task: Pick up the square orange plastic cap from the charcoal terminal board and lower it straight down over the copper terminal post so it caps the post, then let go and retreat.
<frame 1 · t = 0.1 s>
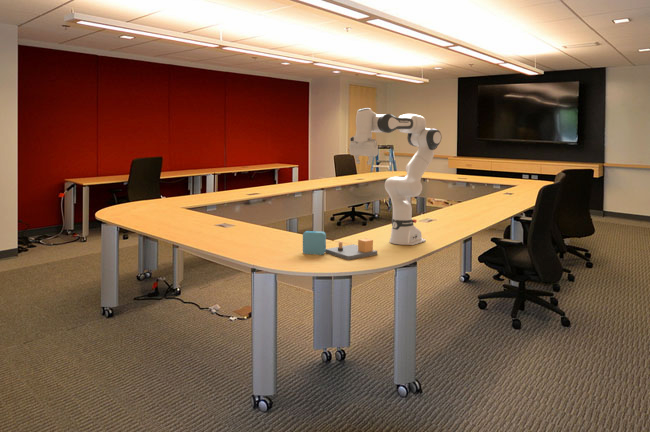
hand: (363, 164, 281), 48 cm above the table, fingers open, 8 cm apart
cap: (365, 250, 277), point 2 cm above the table, touching terminal board
terminal board: (351, 253, 279), on the table
data package: (314, 253, 279), on the table
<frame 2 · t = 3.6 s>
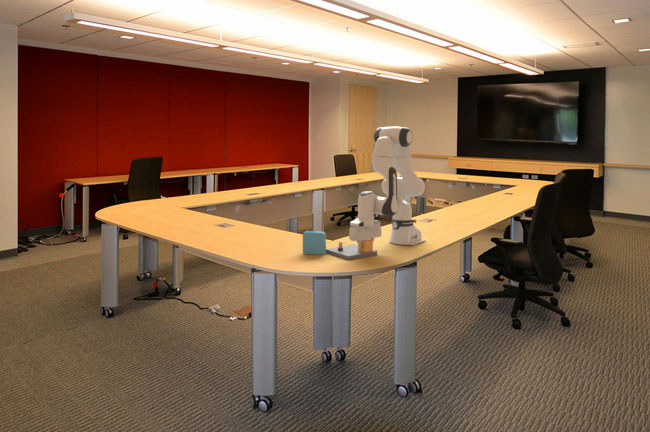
hand: (365, 246, 277), 4 cm above the table, fingers closed on cap, 6 cm apart
cap: (365, 250, 277), point 2 cm above the table, touching gripper, terminal board
everything else where it was.
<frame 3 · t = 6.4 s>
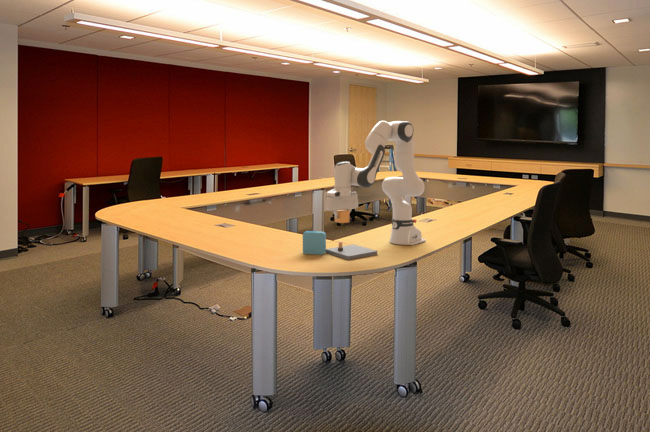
hand: (342, 218, 275), 20 cm above the table, fingers closed on cap, 6 cm apart
cap: (342, 221, 275), point 18 cm above the table, touching gripper
everything else where it was.
when the fingers open (6 cm above the table, at t = 9.3 s): cap drops 1 cm, resting on terminal board.
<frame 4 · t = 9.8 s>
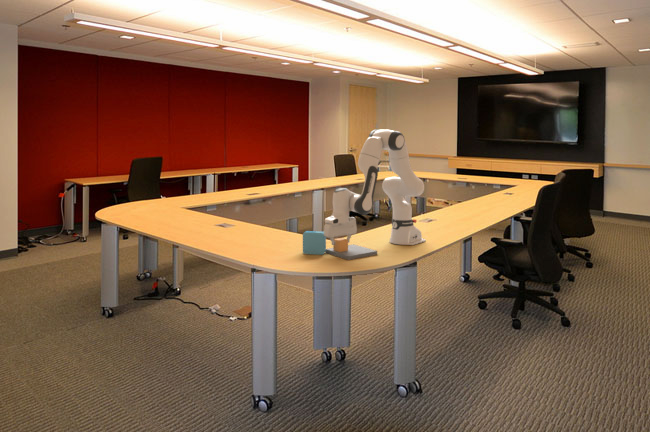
hand: (340, 243, 278), 6 cm above the table, fingers open, 8 cm apart
cap: (340, 250, 278), point 2 cm above the table, touching terminal board
everything else where it was.
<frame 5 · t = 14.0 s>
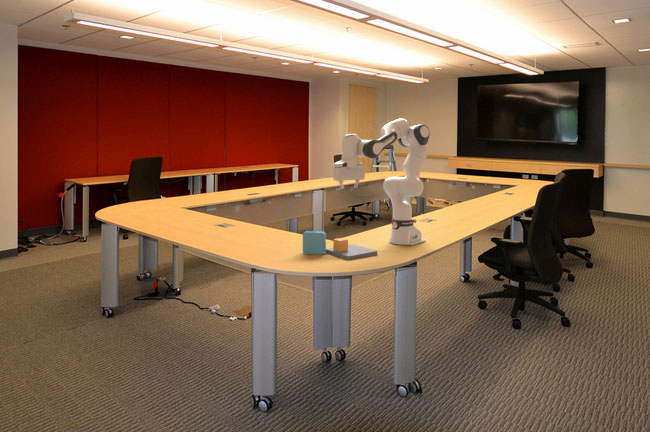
hand: (349, 188, 288), 34 cm above the table, fingers open, 8 cm apart
nothing on the table moved.
at the end: cap 0.0 cm from the target spot on the terminal board, point 2.0 cm above the terminal board's base; cap tilted 0°; the gripper is holding nothing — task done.
